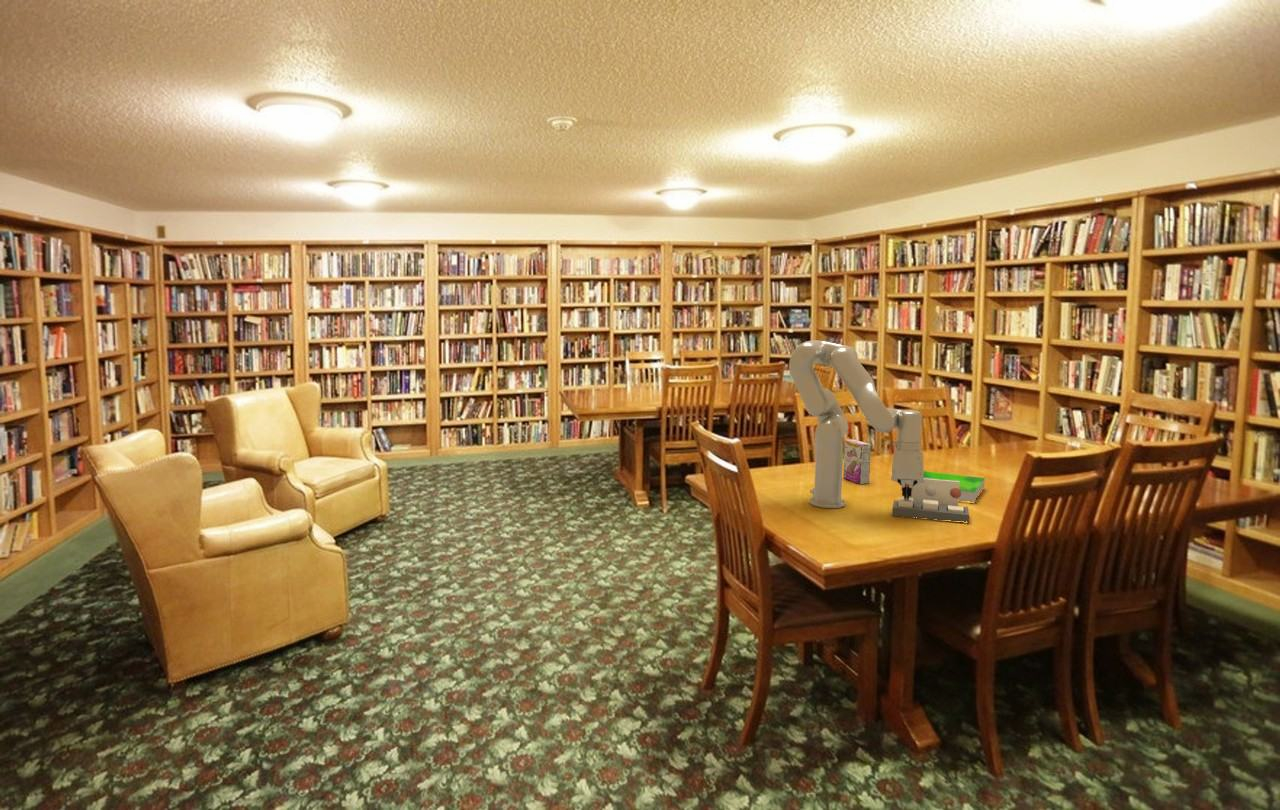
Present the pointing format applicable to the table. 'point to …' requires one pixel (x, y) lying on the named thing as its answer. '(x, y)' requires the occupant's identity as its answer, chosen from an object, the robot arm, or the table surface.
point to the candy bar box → (857, 461)
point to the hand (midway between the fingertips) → (906, 498)
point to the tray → (961, 484)
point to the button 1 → (905, 502)
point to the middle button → (930, 504)
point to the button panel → (935, 491)
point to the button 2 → (955, 509)
